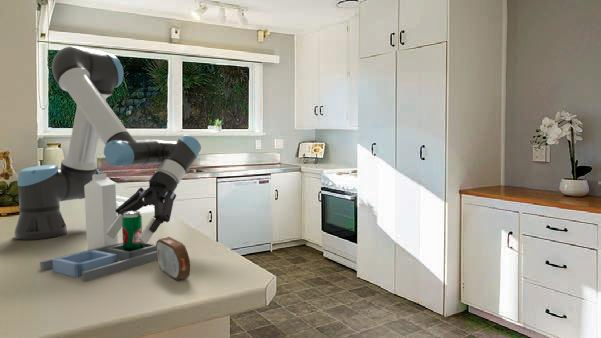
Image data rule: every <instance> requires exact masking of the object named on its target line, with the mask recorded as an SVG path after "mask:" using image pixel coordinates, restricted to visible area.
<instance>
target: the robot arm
mask: <svg viewBox="0 0 601 338" xmlns="http://www.w3.org/2000/svg"><path fill="white" fill-rule="evenodd" d="M51 72H52V75H53V79H54V80H55V82H56V83H57V85H58V86H59V88H60V89H61V90H63V91H64V92H67V93H68V94H69V96H70V97H71V98H72V100H73V101H74V103H75V104H76V110H75V116H74V120H73V126H72V129H71V134H70V135H71V136H70V140H69V147H68V152H67V156H66V157H64V158H63V159H62V160H61V163H60V166H59V168H58V166H57V165H56V164H44V165H36V166H31V167H25V168H23V169H21V170H20V171H19V172H18V174H17V183H16V184H17V187H18V203H19V205H18V207H19V216H18V219H17V223H16V226H15V228H14V239H15V240H20V239H21V240H23V241H26V240H27V241H30V240H31V241H32V240H42V239H50V238H55V237H56V238H57V237H59V236H63V235H65V234H67V232H68V230H67V229H68V228H67V224H66V223H65V220H64V217H63V215H62V213H61V209H60V208H61V207H60V206H61V205H60V202H65V201H66V202H67V201H73V200H83V199H85V190H84V186H85V185H86V184H88V183H89V182H90V181H92V180H93V179H92V176H93V175H95V174H101V171H100V170H99V169H98V165H97V163H96V162H95V155H96V151H97V146H98V141H99V138H100V140H101V141H102V142H103V144H104V145H105V146H104V149H103V155H104V159H105V162H107V164H109V165H110V166H111V167H123V168H124V167H130V166H142V165H143V166H146V165H159V166H158V167H157V169H156V172H154V174H152V176H151V178H150V179H149V182H148V184H149V186H148V187H147V189H144V188H143V187H140V188H138V189H137V190H136V192H135V193H134V194H132V195H131V196H130V197H129V198H128V199H127V200H125V201H124V202H123V203H122V204H121V205H119V206H118V207H116V210H115V211H116V212H117V217H116V219H115V220H114V221H113V223H112V225H111V226H110V228H109V229H108V230H107V232H106V234H107V235H109V236H110V237H111V238H113V239H114V237H115V236H116V235H118V233H119V232H120V230H122V216H123V213H124V212H129V211H139V210H140V209H142V208H143V207H147V206H154V207H153V208H154V215H153V216H152V217H151V218H150V220H149V221H148V223H147V225H146V226H145V227H144V229H142V233H141V235H140V236H139V238H138V239H139V240H141V241H142V242H143V243H144V244H147V243H149V241H150V239H151V238H152V236H153V234H154V233H156V232H157V230H158V229H159V228H160V225H162V224H163V223H165V222H166V223H169V222H170V220H171V217H172V216H171V215H172V210H173V206H174V201H175V199H176V197H177V195H176V193H175V190H176V189H177V187H178V185H179V184H180V182H181V181H182V179H183V178H184V176H185V175H186V174H187V172H188V171H189V169H190V167H191V166H192V165H193V163H194V162H195V161H196V159H197V158H198V156H199V154H200V152H201V150H202V145H201V143H200V142H199V140H198V139H197V138H195V137H194V136H193V135H191V134H190V135H189V134H182V135H181V136H180V137H179V138H178V139H177V141H172V140H171V141H169V140H161V139H157V138H155V139H154V138H152V139H150V138H149V139H144V140H143V139H141V140H140V139H139V140H137V139H135V138H133V136H132V135H131V134H130V132H129V131H128V130H127V129H126V127H125V126H124V124H123V123H122V121H121V120H120V119H119V117H118V116H117V114H116V113H115V112H114V110H113V109H112V108H111V107H110V105H109V103H108V101H107V99H108V97H110V96H112V95H113V91H114V89H116V88H118V87H119V86H120V85H122V82H123V81H124V68H123V65H122V63H121V61H120V59H119V58H118V57H117V56H116V55H113V54H112V53H108V52H105V51H101V50H95V49H90V48H89V49H88V48H84V47H79V46H66V47H64V48H62V49H60V50H58V51H57V53H56V54H55V55H54V56H53V59H52V63H51Z"/></svg>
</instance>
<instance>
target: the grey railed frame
mask: <svg viewBox="0 0 601 338" xmlns="http://www.w3.org/2000/svg"><path fill="white" fill-rule="evenodd" d="M153 261H154V262H155V261H157V249H156V243H151V242H147V244H144V243H143V248H142V249H138V250H134V251H124V250H123V241H121V242H118V243H116V244H112V245H108V246H103V247H99V248H95V249H91V250H87V249H86V250H84V251H80V252H75V253H71V254H67V255H63V256H58V257H55V258H51V259H46V260H45V259H44V260H42V261H39V264H40V265H39V266H40V271H47V270H50V269H52V272H54V273H59V274H62V275H65V276H70V277H73V278H74V277H75V278H77V279H79V278H81V281H82V282H88V281H92V280H95V279H97V278H101V277H104V276H108V275H111V274H114V273H117V272H121V271H124V270H127V269H131V268H134V267H137V266H141V265H144V264H147V263H151V262H153Z"/></svg>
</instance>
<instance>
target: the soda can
mask: <svg viewBox="0 0 601 338" xmlns="http://www.w3.org/2000/svg"><path fill="white" fill-rule="evenodd" d="M141 214H142V213H141V211H139V210H137V211H129V212H124V213H123V216H122V228H121V230H122V232H121V233H122V242H123V250H124V251H134V250H138V249H142V248H143V242H142V241H141V240H139V239H138V238H139V236H140V235H141V233H142V232H143V218H142V217H143V216H142V215H141Z"/></svg>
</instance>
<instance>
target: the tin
mask: <svg viewBox="0 0 601 338" xmlns="http://www.w3.org/2000/svg"><path fill="white" fill-rule="evenodd" d="M155 244H156V249H157V260H156V261H157V264H158V266H159V269H160V270H161V271H162V272H163V274H166V275H167V276H169V277H170V278H171V279H173V280H174V281H180V280H184V279H189V276H190V275H191V261H190V255H189V252H188V250H187V248H186V245H184V243H183V242H181V241H179V240H177V239H175V238H173V237H171V236H167V237H164V238H159V239H158V240H157V241H156V243H155Z"/></svg>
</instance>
